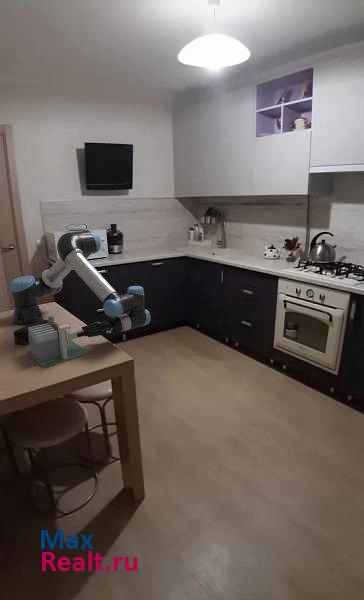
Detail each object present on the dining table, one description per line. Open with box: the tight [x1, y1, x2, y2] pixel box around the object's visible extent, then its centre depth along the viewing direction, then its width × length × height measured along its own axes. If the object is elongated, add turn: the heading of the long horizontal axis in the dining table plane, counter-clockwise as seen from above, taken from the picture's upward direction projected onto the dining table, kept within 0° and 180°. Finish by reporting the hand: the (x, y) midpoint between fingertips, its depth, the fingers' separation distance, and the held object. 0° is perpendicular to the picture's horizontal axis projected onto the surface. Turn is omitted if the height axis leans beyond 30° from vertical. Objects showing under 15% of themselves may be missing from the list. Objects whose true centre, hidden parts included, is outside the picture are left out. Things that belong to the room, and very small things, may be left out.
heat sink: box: [27, 323, 89, 369], centre depth 150 cm, size 20×19×14 cm
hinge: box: [47, 316, 69, 350], centre depth 151 cm, size 18×2×12 cm, turn 38°
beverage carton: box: [13, 318, 49, 347], centre depth 168 cm, size 8×19×7 cm, turn 162°
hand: (68, 336), depth 148 cm, fingers closed
